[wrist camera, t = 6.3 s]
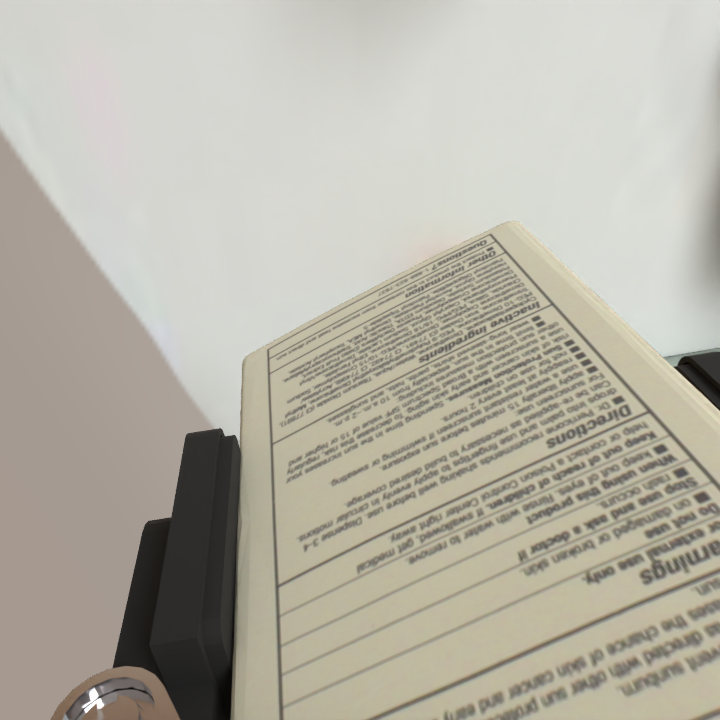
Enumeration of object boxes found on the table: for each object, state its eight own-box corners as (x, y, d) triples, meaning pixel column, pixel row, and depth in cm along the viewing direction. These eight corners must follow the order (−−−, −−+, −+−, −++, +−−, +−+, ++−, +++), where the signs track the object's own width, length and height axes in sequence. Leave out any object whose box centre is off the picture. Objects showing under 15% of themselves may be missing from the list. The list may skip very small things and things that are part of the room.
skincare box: (334, 492, 16) (456, 1528, 5) (235, 350, 14) (117, 1621, 3) (595, 373, 15) (1344, 1340, 5) (532, 202, 13) (1696, 1291, 2)
